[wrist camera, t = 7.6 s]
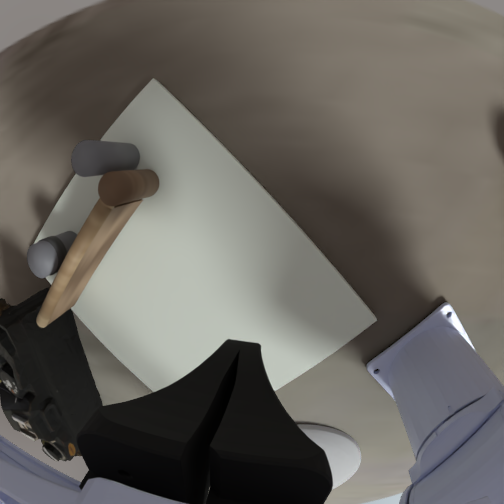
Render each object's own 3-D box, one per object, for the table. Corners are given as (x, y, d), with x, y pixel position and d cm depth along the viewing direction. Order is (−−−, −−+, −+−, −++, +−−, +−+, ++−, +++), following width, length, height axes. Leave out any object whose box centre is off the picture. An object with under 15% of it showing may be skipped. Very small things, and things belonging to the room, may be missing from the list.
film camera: (-6, 294, 25) (-67, 331, 16) (53, 263, 23) (-30, 307, 13) (70, 422, 29) (30, 474, 19) (144, 423, 27) (105, 495, 17)
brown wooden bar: (145, 163, 18) (110, 164, 14) (164, 181, 18) (132, 186, 14) (61, 296, 22) (29, 318, 18) (75, 312, 22) (44, 336, 18)
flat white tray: (374, 315, 21) (396, 359, 15) (204, 425, 25) (188, 470, 20) (158, 80, 18) (117, 57, 13) (33, 251, 23) (-10, 271, 17)
